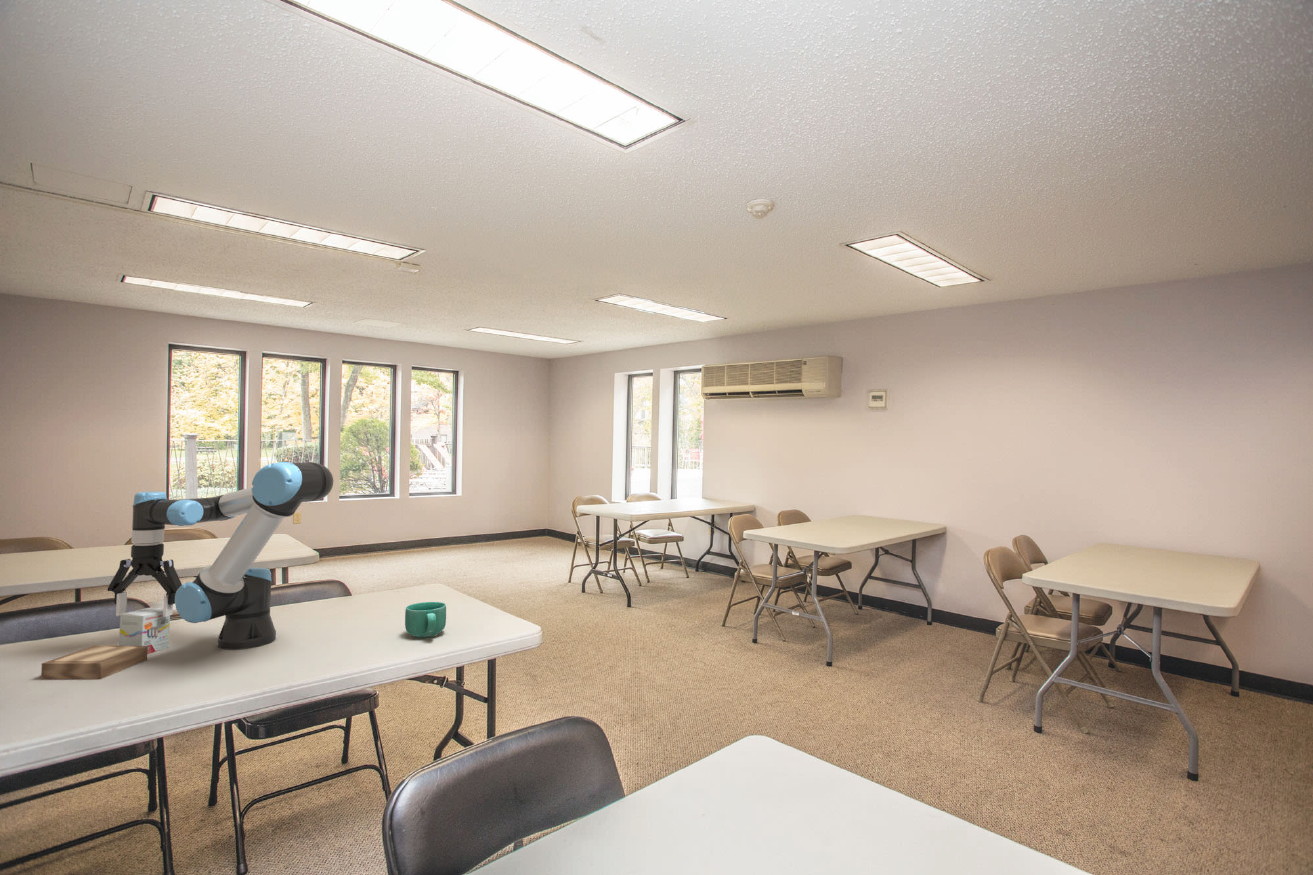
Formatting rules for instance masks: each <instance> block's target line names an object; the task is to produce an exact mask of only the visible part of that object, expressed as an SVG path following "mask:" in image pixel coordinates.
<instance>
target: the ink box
mask: <svg viewBox="0 0 1313 875" xmlns="http://www.w3.org/2000/svg"><path fill="white" fill-rule="evenodd" d="M170 621H171V615H169V616H167V617H163V608H159V607H145V608H142V609H141V608H140V609H137V610H131V611H128V612H127V611H126V613H122V614H121V615H120V617H119V634H118V637H119V638H118V646H148V651H147V655H149V654H153V653H156V652H158V651H159V652H160V651H162V650H164V649H168V648H170V647H169V645H170V626H171V622H170Z"/></svg>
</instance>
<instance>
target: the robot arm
mask: <svg viewBox="0 0 1313 875" xmlns="http://www.w3.org/2000/svg"><path fill="white" fill-rule="evenodd" d="M251 485H252V486H251V487H247V488H243V489H240V490H236V491H232V492H227V493H225V494H220V495H218V496H214V497H213V496H212V497H200V498H183V499H175V498H174V499H172V498H171V499H169V498H167V493H166V492H165V491H140V492H136V493H135V494H134V497H133V504H132V526H131V527H132V530H131V543H132V545H131V548H130V557H131V559H130V558H125V559H121V560H120V562H119V568H118V569H117V571H116V572H115V574H114V576H113V578H112V579H111V582H110V583H109V584H108V586H107V591H108V592H112V593H114V602H113V603H114V605H116V607H115V617H119V616H120V615H121V614H122V613H127V603H128V591H127V589H128V587H129V586H131V584H132V583H133V582H134V581H135V580H136V579H137V577H138V576H148V577H149V576H151V577H152V578H154V579H155V580H156V582H158V584H159V585H160V586H161V587H162V588H163V590H164V591H165V593H164V594H163V608H162V609H163V617H167V616H169V615H170V616H171V615H172V616H173V613H174V610H173V609H174V605H175V610H176V611H177V614H178V615H179V617H180V618H182V620H184V621H186V622H187V623H192V624H198V623H203V622H204V623H205V622H208V621H211V620H214V619H217V618H220V617H225V619H224V622H223V625H222V628H221V630H220V633H219V635H218V637H217V647H218V649H223V650H242V649H244V650H245V649H251V648H257V647H261V646H264V645H268V644H270V643H272V642H274V641H275V640H276V639H277V631H276V628H275V625H274V622H273V620H272V617H271V600H272V599H271V594H272V582H273V580H272V572H271V571H270V569H269V568H266V567H252V565H253V564H254V563H255V561H256V559H257V558H258V556H260V554H261V552H262V551H263V549H264V548H265V546H266V545H267V543H268V542H269V541H270V539H271V538H272V536H273V535H274V533H275V532H276V530H277V529H278V527H279V526H280V525H281V523H282V521H283V520H284V519H285V518H289V517H292V516H293V515H294V514H295V513H296V511H297V510H298V509H299V507H300V505H302V503H309V502H315V501H320V500H322V499H324V498H325V497H327V496H328V495H329V494H330V493H331V491H332V489H333V487H334V475H333V474H332V472H331V470H330V469H329V468H327V467H326V466H325V465H323V464H321V463H318V462H309V461H308V462H288V461H280V462H279V461H278V462H272V463H270V464H266V465H263V467H261V468H260V469H259V470H258V471H257V472H256V473H255V475H254V477H253V478H252V481H251ZM241 515H245V516H244V517H243V519H242V520H241V522H240V523H239V525H238V526H237V528H236V529H235V530H234V532H233V534H232V535H231V537H230V538H229V539H228V541H227V543H226V544H225V546H224V547H223V548H222V550H221V551H220V553H219V554H218V556H217V558H215V560H214V562H213V563H212V565H208V566H205V567H204V568H202V569H201V570H200V571H199V573H198V575H196V577H195V579H194V580H193V581H191V582H190V581H188V582H185V583H183V584H182V582H181V579H180V577H179V576H178V573H177V571H176V568H175V564H174V561H175V560H174V559H168V560H163V556H164V552H165V551H164V550H165V544H164V543H163V542H164V541H165V529H166V525H170V526H178V527H184V526H186V527H187V526H193V525H195V524H201V523H206V522H207V523H208V522H216V521H217V522H218V521H222V522H223V521H227V520H231V519H233V518H235V517H237V516H241ZM130 568H132V569H131V570H130ZM129 570H130V571H129ZM126 575H127V576H126Z"/></svg>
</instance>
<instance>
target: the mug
mask: <svg viewBox="0 0 1313 875" xmlns="http://www.w3.org/2000/svg"><path fill="white" fill-rule="evenodd" d="M404 612H405V614H404V627H405V628H404V629H405V631H406V632H407V633H408V634H409V635H410V636H412V637H414V638H417V639H427V638H433V637H435V636H437V635H438V634H439V633H441V632H442V631H444V629H445V627H446V625H447V624H446V623H447V604H446V603H445V602H441V601H423V602H417V603H412V604H409V605H406V607H405V611H404Z"/></svg>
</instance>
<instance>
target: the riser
mask: <svg viewBox="0 0 1313 875" xmlns="http://www.w3.org/2000/svg"><path fill="white" fill-rule="evenodd" d="M147 651H148V646H119V645H92V646H89V647H87V648H83V649H80V650H77V651H74V652H72V653H69V654H65V655H63V656H60V657H57V658H53V659H51V660H48V661H46V662H45V661H44V662H42V663H41V671H40V672H41V675H40V679H41V680H103V679H104V678H107V677H109V676H112V675H114V674H116V673H119V672H121V671H124V670H126V669H129V668H132V667H133V666H136V665H138V664H141V663H144V662H146V661H148V654H147Z"/></svg>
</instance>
